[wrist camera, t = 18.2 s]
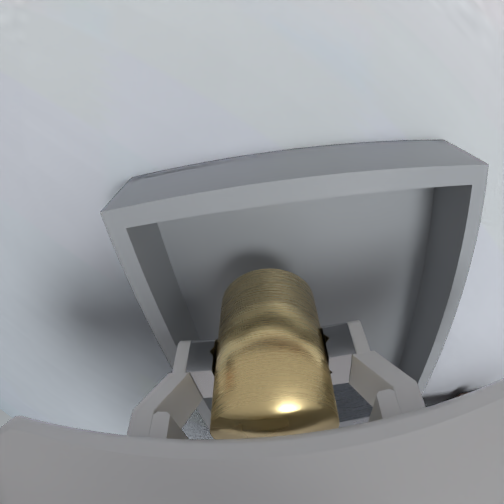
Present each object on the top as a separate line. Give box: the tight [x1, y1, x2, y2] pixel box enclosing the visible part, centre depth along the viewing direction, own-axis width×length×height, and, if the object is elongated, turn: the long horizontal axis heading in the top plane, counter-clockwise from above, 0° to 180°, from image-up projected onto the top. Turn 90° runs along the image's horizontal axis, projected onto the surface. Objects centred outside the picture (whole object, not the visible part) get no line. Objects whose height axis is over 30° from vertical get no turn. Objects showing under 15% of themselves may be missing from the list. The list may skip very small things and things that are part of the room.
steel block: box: [333, 383, 373, 428], centre depth 19 cm, size 4×4×4 cm
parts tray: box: [100, 140, 489, 430], centre depth 18 cm, size 15×24×4 cm, turn 9°
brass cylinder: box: [210, 268, 339, 439], centre depth 11 cm, size 4×4×6 cm
